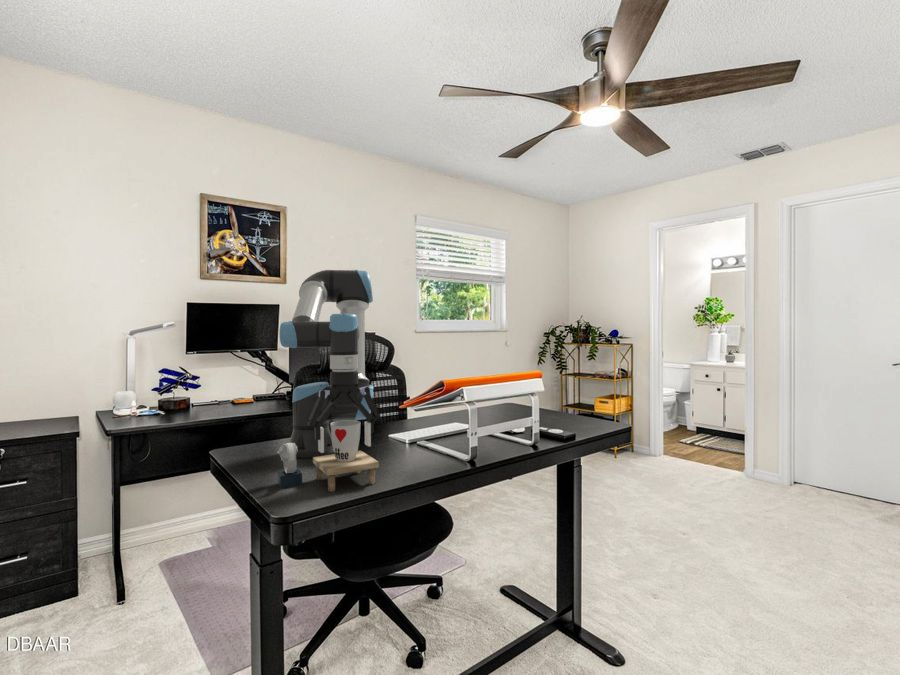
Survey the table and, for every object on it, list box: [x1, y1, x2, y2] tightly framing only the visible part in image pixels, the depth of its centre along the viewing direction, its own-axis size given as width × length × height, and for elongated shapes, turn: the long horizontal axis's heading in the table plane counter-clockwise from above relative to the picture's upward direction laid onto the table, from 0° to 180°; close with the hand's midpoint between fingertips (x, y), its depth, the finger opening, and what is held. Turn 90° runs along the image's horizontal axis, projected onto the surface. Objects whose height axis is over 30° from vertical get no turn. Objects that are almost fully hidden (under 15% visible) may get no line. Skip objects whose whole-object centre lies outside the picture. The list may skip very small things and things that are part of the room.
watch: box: [277, 442, 303, 489], centre depth 129 cm, size 6×8×11 cm
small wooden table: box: [312, 450, 380, 493], centre depth 131 cm, size 14×14×6 cm
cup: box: [329, 420, 362, 462], centre depth 131 cm, size 8×8×10 cm
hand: (345, 448), depth 131 cm, fingers open, 12 cm apart
